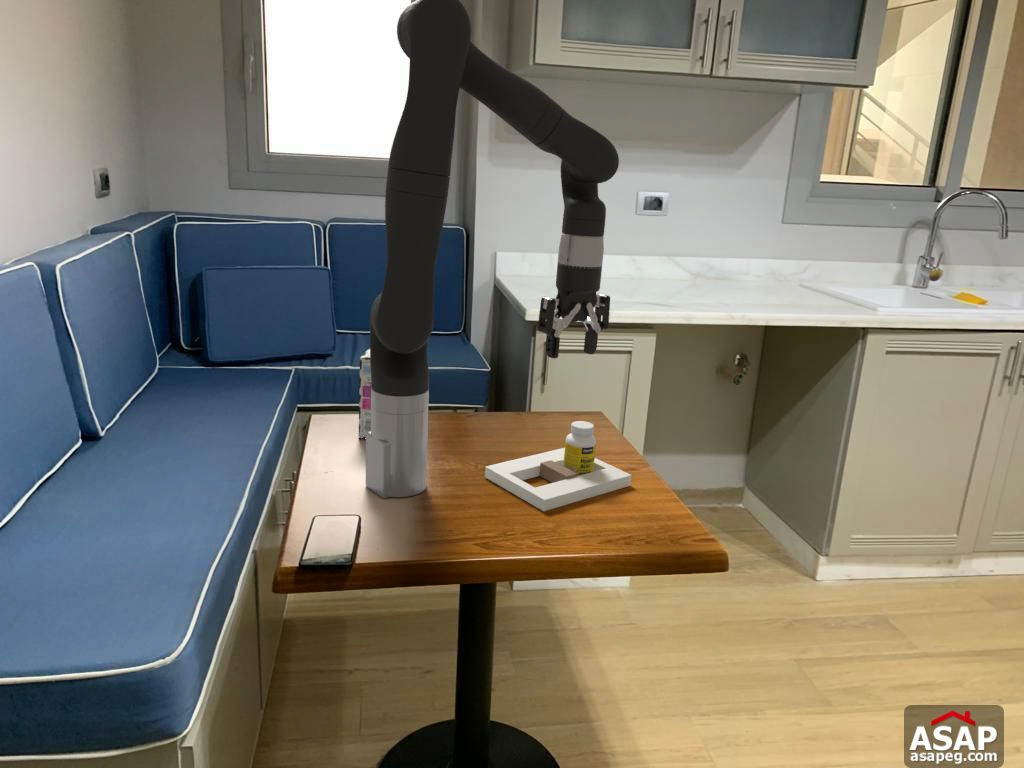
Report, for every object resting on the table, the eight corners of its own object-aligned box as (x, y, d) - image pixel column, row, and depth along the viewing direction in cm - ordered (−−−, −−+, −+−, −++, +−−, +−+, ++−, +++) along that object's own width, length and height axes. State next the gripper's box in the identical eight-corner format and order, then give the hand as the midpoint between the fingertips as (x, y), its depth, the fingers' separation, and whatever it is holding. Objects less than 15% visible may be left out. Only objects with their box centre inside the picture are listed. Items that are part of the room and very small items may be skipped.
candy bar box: (383, 441, 150) (384, 359, 145) (357, 439, 150) (358, 357, 146) (393, 422, 161) (395, 345, 156) (369, 421, 161) (370, 344, 156)
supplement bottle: (580, 484, 135) (585, 431, 133) (556, 475, 139) (560, 423, 136) (598, 476, 139) (603, 425, 136) (575, 467, 143) (579, 417, 140)
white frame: (543, 511, 124) (544, 497, 123) (484, 477, 136) (485, 463, 135) (630, 485, 136) (631, 472, 135) (569, 456, 148) (570, 443, 147)
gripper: (562, 266, 123) (553, 364, 128) (625, 264, 132) (615, 356, 136) (533, 259, 129) (525, 354, 133) (595, 258, 138) (586, 347, 142)
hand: (571, 355), depth 135 cm, fingers open, 8 cm apart
